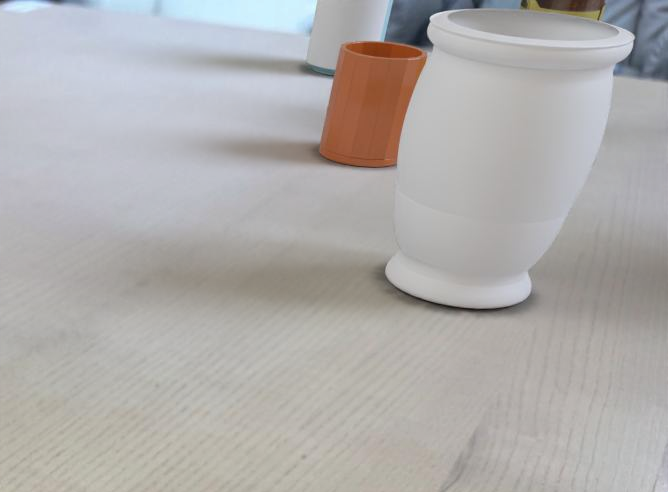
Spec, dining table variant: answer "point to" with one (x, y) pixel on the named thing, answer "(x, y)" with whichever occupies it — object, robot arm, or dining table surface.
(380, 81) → the cup
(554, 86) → the jar
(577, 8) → the sauce bottle
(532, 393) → the dining table surface
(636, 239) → the dining table surface
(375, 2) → the can
